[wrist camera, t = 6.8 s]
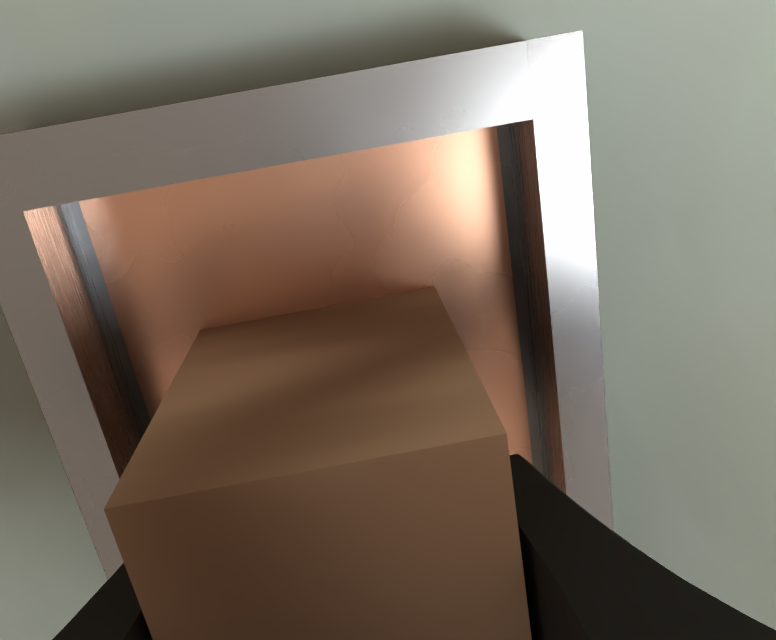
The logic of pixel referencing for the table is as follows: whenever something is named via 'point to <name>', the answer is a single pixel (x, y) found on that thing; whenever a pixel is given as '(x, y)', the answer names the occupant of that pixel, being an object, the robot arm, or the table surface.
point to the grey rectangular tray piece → (314, 244)
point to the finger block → (325, 485)
